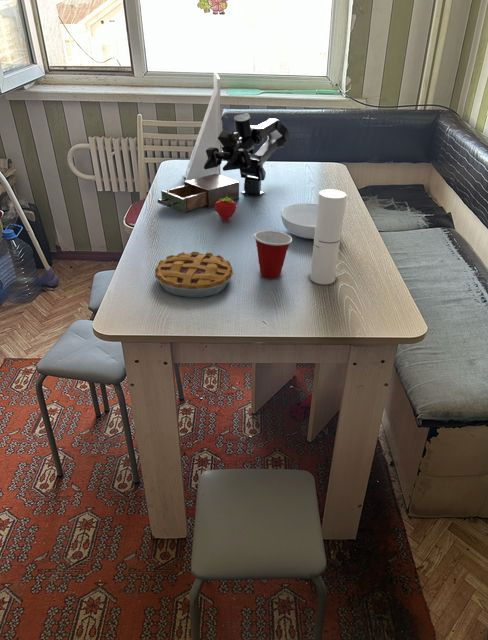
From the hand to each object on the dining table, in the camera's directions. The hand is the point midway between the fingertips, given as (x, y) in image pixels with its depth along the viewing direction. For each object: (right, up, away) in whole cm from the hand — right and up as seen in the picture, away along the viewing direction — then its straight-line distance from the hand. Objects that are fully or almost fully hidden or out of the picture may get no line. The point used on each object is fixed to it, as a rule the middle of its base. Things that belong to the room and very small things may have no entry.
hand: (213, 168), depth 185 cm
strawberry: (+4, -18, +1) cm, 19 cm away
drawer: (-12, -10, +10) cm, 19 cm away
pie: (-2, -44, -36) cm, 57 cm away
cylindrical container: (+35, -43, -32) cm, 64 cm away
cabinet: (-2, -5, +19) cm, 20 cm away
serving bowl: (+34, -24, -4) cm, 41 cm away
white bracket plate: (-9, +8, +38) cm, 40 cm away
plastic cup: (+20, -42, -31) cm, 55 cm away
